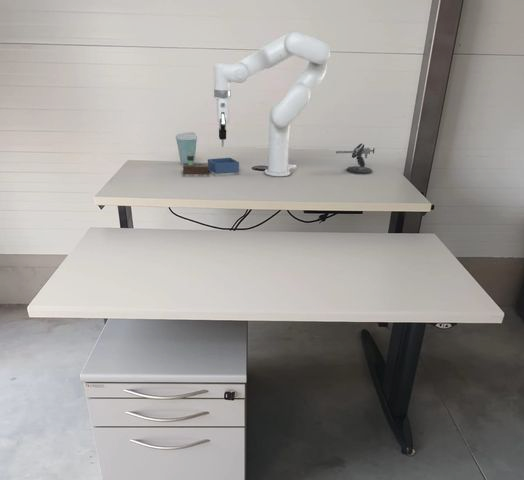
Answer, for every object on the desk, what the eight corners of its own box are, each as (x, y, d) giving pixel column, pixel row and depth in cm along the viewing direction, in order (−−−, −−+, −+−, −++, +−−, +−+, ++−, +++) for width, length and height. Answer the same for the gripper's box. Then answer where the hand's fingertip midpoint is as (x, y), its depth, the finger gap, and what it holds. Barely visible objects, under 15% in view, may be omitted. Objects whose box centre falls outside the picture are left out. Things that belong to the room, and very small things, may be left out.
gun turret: (331, 168, 257) (333, 141, 250) (367, 167, 261) (370, 141, 254) (339, 174, 247) (342, 146, 240) (376, 173, 251) (381, 146, 244)
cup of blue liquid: (181, 168, 247) (179, 135, 239) (173, 163, 255) (171, 131, 247) (201, 166, 251) (200, 134, 243) (193, 162, 259) (191, 130, 251)
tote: (230, 169, 248) (230, 157, 246) (238, 174, 241) (238, 162, 238) (207, 170, 244) (207, 159, 241) (215, 175, 236) (215, 163, 233)
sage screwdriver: (188, 171, 237) (187, 151, 232) (194, 171, 238) (193, 151, 233) (187, 173, 235) (187, 153, 230) (194, 173, 235) (193, 153, 230)
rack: (183, 172, 239) (183, 162, 237) (207, 172, 241) (207, 163, 238) (183, 176, 233) (183, 166, 231) (208, 176, 235) (207, 166, 232)
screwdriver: (219, 146, 237) (219, 125, 232) (225, 146, 237) (225, 126, 232) (219, 147, 235) (219, 127, 230) (225, 147, 235) (225, 127, 230)
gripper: (231, 96, 218) (231, 141, 227) (229, 92, 231) (229, 135, 241) (214, 96, 217) (215, 141, 227) (213, 92, 230) (214, 135, 240)
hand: (222, 137), depth 234 cm, fingers closed on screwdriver, 3 cm apart
